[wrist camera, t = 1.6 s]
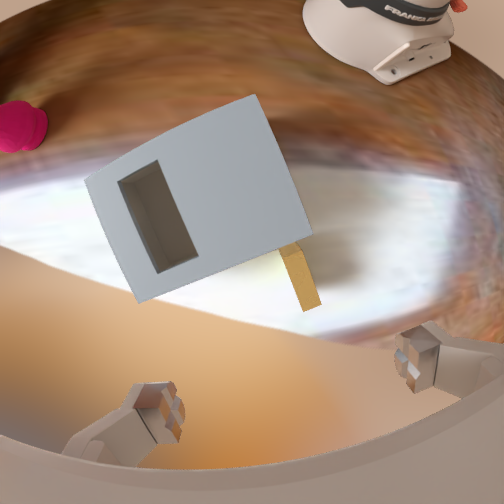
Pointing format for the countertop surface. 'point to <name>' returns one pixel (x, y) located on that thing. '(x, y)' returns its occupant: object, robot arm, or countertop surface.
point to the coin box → (198, 200)
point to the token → (300, 276)
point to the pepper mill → (21, 126)
